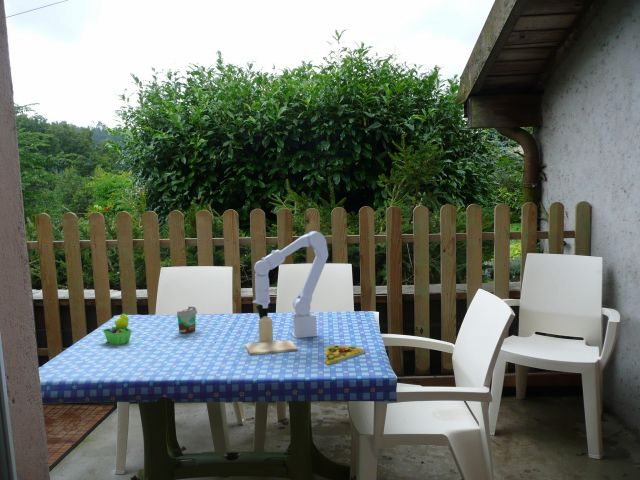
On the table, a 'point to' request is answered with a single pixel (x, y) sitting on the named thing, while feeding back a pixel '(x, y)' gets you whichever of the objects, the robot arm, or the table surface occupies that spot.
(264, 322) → the candle
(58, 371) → the table surface
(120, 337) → the green potted plant
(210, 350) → the table surface
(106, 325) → the table surface
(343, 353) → the pizza slice
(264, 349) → the board
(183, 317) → the food container
